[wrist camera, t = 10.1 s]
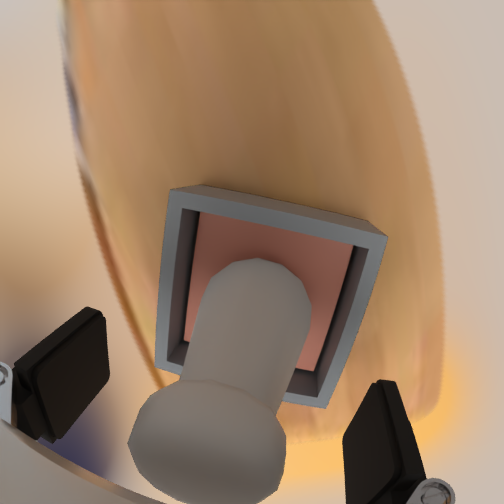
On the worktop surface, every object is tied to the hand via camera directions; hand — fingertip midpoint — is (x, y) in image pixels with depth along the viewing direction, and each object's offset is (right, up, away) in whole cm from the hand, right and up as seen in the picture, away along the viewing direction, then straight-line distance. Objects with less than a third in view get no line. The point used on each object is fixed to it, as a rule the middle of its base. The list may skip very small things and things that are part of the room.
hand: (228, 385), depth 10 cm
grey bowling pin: (+1, +2, +9) cm, 9 cm away
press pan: (+1, +2, +10) cm, 10 cm away
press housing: (+2, +2, +11) cm, 12 cm away
